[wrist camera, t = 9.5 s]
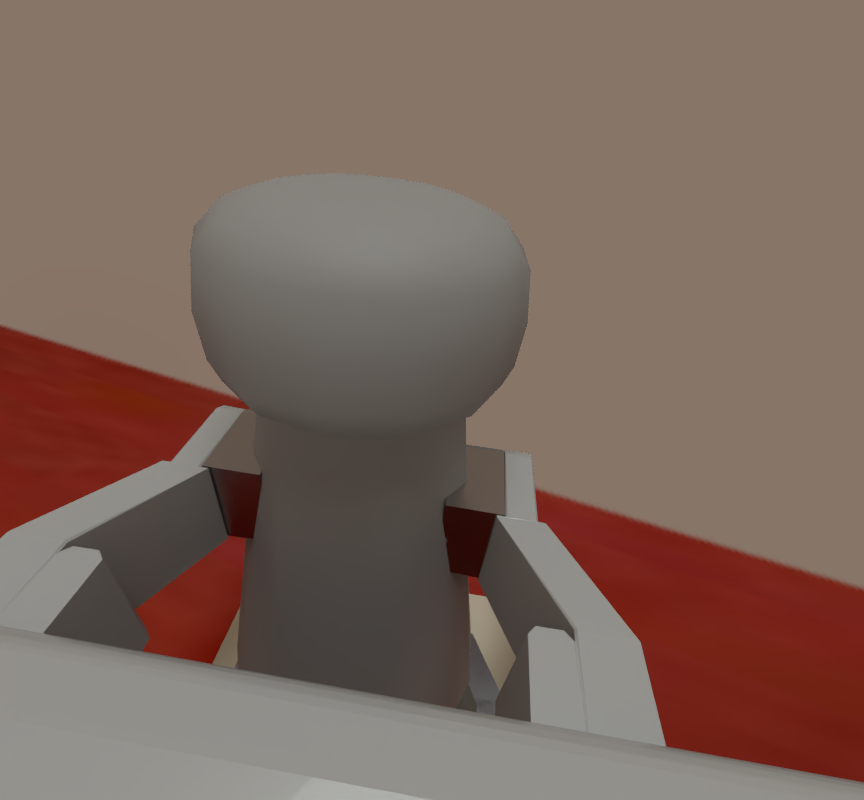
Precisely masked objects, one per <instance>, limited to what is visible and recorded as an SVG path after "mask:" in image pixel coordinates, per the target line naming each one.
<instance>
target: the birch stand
mask: <svg viewBox="0 0 864 800" xmlns="http://www.w3.org/2000/svg"><path fill="white" fill-rule="evenodd" d="M469 606H470V625H471V633H472V634H473V636H474V638H475V640H476V642H477V644H478V646H479V648H480V651H481V653H482V655H483V657H484V659H485V661H486V663H487V666H488V668H489V670H490V672H491V674H492V676H493V678H494V680H495V683H496V685H497V687H498V689H499V691H500V690H501V688H502V686H503V684H504V682H505V680H506V678H507V676H508V674H509V672H510V670H511V668H512V665H513V663H514V661H515V659H516V657H515V655H514V653H513V651H512V648H511V646H510V644H509V642H508V640H507V638H506V636H505V634H504V632H503V630H502V628H501V626H500V624H499V622H498V620H497V618H496V616H495V614H494V612H493V610H492V607H491V605H490V603H489V601H488V599H487V597H484V596H479V595H473V594H469ZM239 617H240V608H239V610H238V612H237V614H236V616H235V618H234V620H233V622H232V624H231V627H230V629H229V631H228V633H227V635H226V637H225V639H224V641H223V643H222V645H221V647H220V649H219V651H218V653H217V655H216V658H215V660H214V662H213V664H215V665H220V666H226V667H231V668H235V665H236V663H237V661H238V656H237V641H238V629H239Z"/></svg>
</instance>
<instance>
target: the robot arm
mask: <svg viewBox="0 0 864 800" xmlns="http://www.w3.org/2000/svg"><path fill="white" fill-rule="evenodd" d="M255 425H256V413H255V412H254V411H253V410H249V409H248V410H246V409H241V408H235V407H230V406H225V405H223V406H221V407H218V408H216V409H215V410H214V412H213V413H212V414H211V415H210V416H209V417H208V419H207V420H206V421H205V422H204V423H203V424H202V426H201V427H200V428H199V429H198V430H197V432H196V433H195V434H194V435H193V436H192V437H191V439H190V440H189V441H188V442H187V443H186V444H185V446H184V447H183V448H182V449H181V450H180V452H179V453H178V454H177V455H176V456H175V457H174V459H173V460H172V461H171V462H168V461H161V462H159V463H157V464H154V465H152V466H150V467H148V468H146V469H144V470H141V471H139V472H137V473H135V474H133V475H130V476H128V477H126V478H124V479H122V480H120V481H117V482H115V483H113V484H111V485H109V486H106V487H104V488H102V489H100V490H98V491H96V492H93V493H91V494H89V495H87V496H85V497H82V498H80V499H78V500H76V501H74V502H72V503H69V504H67V505H65V506H63V507H61V508H58V509H56V510H54V511H52V512H50V513H48V514H45V515H43V516H41V517H39V518H37V519H34V520H32V521H30V522H28V523H26V524H24V525H21V526H19V527H17V528H15V529H13V530H10V531H8V532H7V533H6V534H5V535H4V536H3V537H2V538H1V539H0V800H864V782H858V781H853V780H847V779H842V778H836V777H831V776H825V775H820V774H814V773H809V772H803V771H798V770H792V769H787V768H781V767H776V766H770V765H765V764H759V763H754V762H748V761H743V760H737V759H732V758H726V757H721V756H715V755H710V754H704V753H699V752H693V751H688V750H682V749H677V748H671V747H666V744H665V740H664V736H663V732H662V728H661V724H660V720H659V716H658V712H657V708H656V704H655V700H654V695H653V691H652V687H651V683H650V679H649V675H648V671H647V667H646V663H645V659H644V655H643V651H642V646H641V642H640V641H639V640H638V638H637V637H636V636H635V635H634V633H633V632H632V631H631V630H630V628H629V627H628V626H627V625H626V623H625V622H624V621H623V620H622V618H621V617H620V616H619V615H618V613H617V612H616V611H615V609H614V608H613V607H612V606H611V604H610V603H609V602H608V601H607V599H606V598H605V597H604V596H603V594H602V593H601V592H600V591H599V589H598V588H597V587H596V586H595V584H594V583H593V582H592V581H591V579H590V578H589V577H588V576H587V574H586V573H585V572H584V571H583V569H582V568H581V567H580V566H579V564H578V563H577V562H576V561H575V559H574V558H573V557H572V555H571V554H570V553H569V552H568V550H567V549H566V548H565V547H564V545H563V544H562V543H561V542H560V540H559V539H558V538H557V537H556V535H555V534H554V533H553V532H552V530H551V529H550V528H549V527H548V525H547V524H546V523H541V522H538V519H537V508H536V496H535V485H534V473H533V462H532V457H531V455H530V454H529V453H522V452H515V451H508V450H504V451H503V450H498V449H492V448H485V447H479V446H472V445H466V478H467V482H465V483H464V484H463V485H462V486H460V487H459V488H458V489H457V490H455V491H454V492H453V493H451V494H450V495H449V496H448V497H446V502H445V508H444V515H443V527H444V534H445V538H446V539H447V541H446V548H447V554H448V561H449V568H450V572H452V573H457V574H462V575H467V576H472V577H477V578H479V579H478V581H479V583H480V585H481V587H482V589H483V591H484V593H485V595H486V597H487V599H488V601H489V603H490V605H491V607H492V610H493V612H494V614H495V616H496V618H497V620H498V622H499V624H500V626H501V628H502V630H503V632H504V634H505V636H506V638H507V640H508V642H509V644H510V646H511V648H512V651H513V653H514V655H515V657H516V659H515V661H514V663H513V665H512V668H511V670H510V672H509V674H508V676H507V678H506V680H505V682H504V684H503V686H502V688H501V690H500V692H499V694H498V696H497V698H496V701H495V715H490V714H484V713H479V712H473V711H468V710H462V709H457V708H451V707H446V706H440V705H435V704H429V703H424V702H418V701H413V700H407V699H402V698H396V697H391V696H385V695H380V694H374V693H369V692H363V691H358V690H352V689H347V688H341V687H336V686H330V685H325V684H319V683H314V682H308V681H303V680H297V679H292V678H286V677H281V676H275V675H270V674H264V673H259V672H253V671H248V670H242V669H237V668H231V667H226V666H220V665H215V664H209V663H203V662H198V661H192V660H187V659H181V658H176V657H170V656H165V655H159V654H154V653H148V652H143V651H142V650H143V648H144V647H145V645H146V643H147V642H148V640H149V635H148V630H147V629H146V627H145V625H144V624H143V622H142V620H141V619H140V617H139V615H138V614H137V612H136V610H135V609H136V608H138V607H139V606H140V605H141V604H143V603H144V602H145V601H147V600H148V599H149V598H151V597H152V596H153V595H155V594H156V593H157V592H158V591H160V590H161V589H162V588H164V587H165V586H166V585H168V584H169V583H170V582H172V581H173V580H174V579H175V578H177V577H178V576H179V575H181V574H182V573H183V572H185V571H186V570H187V569H189V568H190V567H191V566H192V565H194V564H195V563H196V562H198V561H199V560H200V559H202V558H203V557H204V556H206V555H207V554H208V553H209V552H211V551H212V550H213V549H215V548H216V547H217V546H219V545H220V544H221V543H223V542H224V541H225V540H226V539H228V535H229V536H236V537H243V538H250V539H253V538H254V531H255V525H256V518H257V512H258V505H259V498H260V492H261V485H262V470H261V468H260V465H259V463H258V461H257V459H256V456H255V454H254V452H253V449H254V437H255Z"/></svg>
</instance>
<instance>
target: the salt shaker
mask: <svg viewBox="0 0 864 800" xmlns="http://www.w3.org/2000/svg"><path fill="white" fill-rule="evenodd" d="M190 255H191V307H192V314H193V317H194V320H195V323H196V326H197V329H198V333H199V336H200V339H201V343H202V346H203V349H204V352H205V355H206V359H207V361H208V362H209V363H210V365H211V366H212V368H213V369H214V370H215V372H216V373H217V375H218V376H219V377H220V378H221V380H222V381H223V382H224V383H225V384H226V385H227V386H228V387H229V388H230V389H231V390H232V391H233V392H234V393H235V394H236V395H237V396H238V397H239V398H240V399H241V400H242V401H243V402H244V403H245V404H246V405H247V406H248V407H250V408H251V409H252V410H253V411H254V412H255V413H256V425H255V437H254V449H253V452H254V454H255V456H256V459H257V461H258V463H259V465H260V468H261V470H262V485H261V492H260V498H259V505H258V512H257V518H256V525H255V531H254V538H253V539H250V538H246V545H245V557H244V569H243V581H242V593H241V605H240V617H239V629H238V641H237V656H238V669H242V670H248V671H253V672H259V673H264V674H270V675H275V676H281V677H286V678H292V679H297V680H303V681H308V682H314V683H319V684H325V685H330V686H336V687H341V688H347V689H352V690H358V691H363V692H369V693H374V694H380V695H385V696H391V697H396V698H402V699H407V700H413V701H418V702H424V703H429V704H435V705H440V706H446V707H451V708H456V707H457V706H458V704H459V702H460V700H461V698H462V696H463V694H464V692H465V690H466V688H467V686H468V684H469V682H470V636H471V625H470V606H469V587H468V576H467V575H462V574H457V573H452V572H450V568H449V561H448V554H447V548H446V541H447V539H446V538H445V534H444V527H443V515H444V508H445V502H446V497H448V496H449V495H450V494H451V493H453V492H454V491H455V490H457V489H458V488H459V487H460V486H462V485H463V484H464V483H465V482H467V478H466V417H470V416H472V415H473V414H474V413H475V412H476V411H477V410H478V409H479V408H480V407H481V406H482V404H484V403H485V402H486V401H487V399H488V398H489V397H490V396H491V395H492V394H493V393H494V392H495V391H496V390H497V389H498V388H499V387H500V386H501V385H502V384H503V382H504V381H505V379H506V378H507V376H508V375H509V373H510V372H511V370H512V369H513V368H514V366H515V362H516V359H517V356H518V353H519V349H520V346H521V343H522V339H523V336H524V333H525V329H526V326H527V321H528V304H529V286H530V268H529V264H528V261H527V258H526V254H525V251H524V248H523V246H522V244H521V243H520V241H519V240H518V238H517V236H516V235H515V233H514V231H513V230H512V228H511V226H510V225H509V223H508V221H507V220H506V218H504V217H502V216H501V215H499V214H497V213H495V212H494V211H492V210H490V209H489V208H487V207H485V206H484V205H482V204H480V203H478V202H476V201H473V200H471V199H469V198H467V197H465V196H463V195H460V194H458V193H456V192H453V191H449V190H446V189H443V188H440V187H436V186H433V185H430V184H426V183H420V182H414V181H408V180H402V179H396V178H389V177H379V176H368V175H358V174H307V175H297V176H288V177H279V178H275V179H271V180H267V181H263V182H259V183H255V184H252V185H248V186H246V187H243V188H240V189H238V190H235V191H233V192H230V193H228V194H225V195H223V196H221V197H220V198H219V199H218V200H217V201H216V202H215V203H214V204H213V205H212V206H211V207H210V209H209V210H208V211H207V212H206V213H205V214H204V215H203V216H202V218H201V219H200V220H199V221H198V222H197V223H196V224H195V225H194V229H193V236H192V243H191V250H190Z"/></svg>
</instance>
